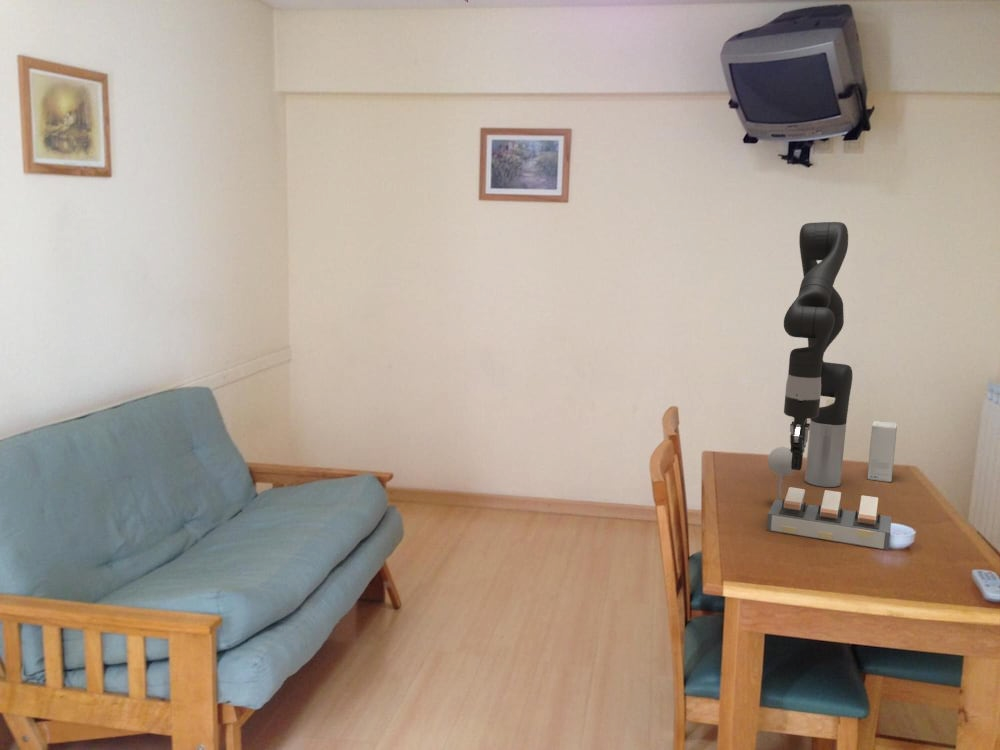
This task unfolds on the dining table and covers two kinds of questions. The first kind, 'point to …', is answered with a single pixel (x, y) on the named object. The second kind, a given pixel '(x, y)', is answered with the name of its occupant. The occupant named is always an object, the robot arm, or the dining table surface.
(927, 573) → the dining table surface
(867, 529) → the switch unit
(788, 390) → the robot arm
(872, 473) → the skincare box
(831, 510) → the switch
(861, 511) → the switch
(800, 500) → the switch
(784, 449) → the lollipop
